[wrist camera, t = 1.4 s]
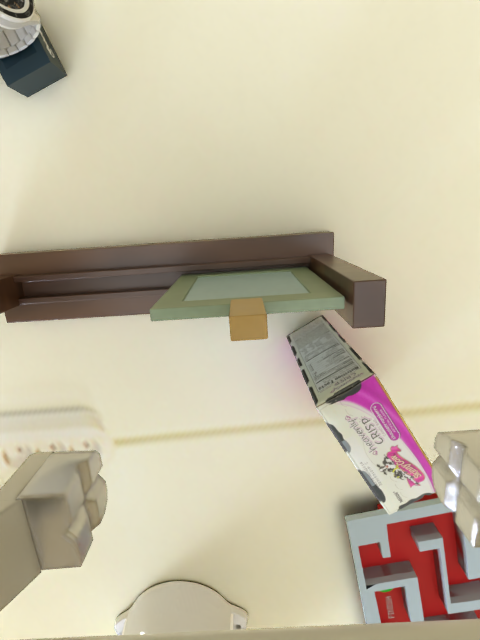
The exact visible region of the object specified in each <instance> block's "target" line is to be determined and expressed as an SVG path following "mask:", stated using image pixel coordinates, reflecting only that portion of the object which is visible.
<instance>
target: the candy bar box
mask: <svg viewBox="0 0 480 640" xmlns="http://www.w3.org/2000/svg"><path fill="white" fill-rule="evenodd" d="M287 339H288V341H289V344H290V346H291V349H292V351H293V353H294V356H295V358H296V361H297V363H298V365H299V367H300V370H301V372H302V375H303V377H304V380H305V382H306V384H307V386H308V388H309V391H310V393H311V395H312V398H313V400H314V402H315V405H316V408H317V410H318V412H319V413H320V415H321V416H322V418H323V419H324V420H325V422H326V424H327V425H328V427H329V428H330V430H331V431H332V433H333V434H334V436H335V437H336V439H337V440H338V442H339V443H340V445H341V446H342V448H343V449H344V451H345V452H346V454H347V455H348V457H349V458H350V460H351V461H352V462H353V464H354V465H355V467H356V468H357V470H358V471H359V473H360V474H361V476H362V477H363V479H364V480H365V481H366V483H367V485H368V486H369V488H370V489H371V490H372V492H373V493H374V495H375V496H376V498H377V499H378V501H379V502H380V503H381V505H382V506H383V508H384V509H385V510H386V512H387V513H388V514H389V515H391V514H393V513H395V512H397V511H398V510H400V509H402V508H404V507H406V506H407V505H409V504H412V503H414V502H416V501H418V500H419V499H421V498H423V496H424V495H431V494H433V493H435V492H436V491H435V489H434V485H433V480H432V464H431V463H430V461H429V460H428V458H427V456H426V455H425V453H424V452H423V450H422V449H421V447H420V445H419V444H418V442H417V441H416V439H415V437H414V436H413V434H412V432H411V431H410V429H409V428H408V426H407V424H406V423H405V421H404V420H403V418H402V416H401V415H400V413H399V411H398V410H397V408H396V406H395V405H394V403H393V402H392V400H391V398H390V397H389V395H388V393H387V392H386V390H385V389H384V387H383V385H382V384H381V382H380V380H379V379H378V377H377V376H376V374H375V373H374V372H373V371H372V370H371V369H370V368H369V367H368V366H367V365H366V364H365V362H364V361H363V360H362V359H361V358H360V356H359V355H358V354H357V353H356V352H355V351H354V350H353V349H352V348H351V347H350V345H349V344H348V343H347V342H346V341H345V340H344V339H343V338H342V337H341V336H340V335H339V333H338V332H337V331H336V330H335V329H334V328H333V327H332V325H331V324H330V323H329V322H328V321H327V320H326V319H325V317H324V316H323V315H321V316H320V317H318V318H316V319H314V320H313V321H311V322H310V323H309V324H307V325H305V326H304V327H302V328H300V329H298V330H297V331H295V332H293V333H292V334H290V335H288V336H287Z"/></svg>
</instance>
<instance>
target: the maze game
mask: <svg viewBox="0 0 480 640" xmlns="http://www.w3.org/2000/svg"><path fill="white" fill-rule="evenodd" d="M377 508H378V510H374V511H368V512H363V513H358V514H353V515H348V516H345V520H346V525H347V530H348V535H349V540H350V545H351V550H352V555H353V560H354V565H355V571H356V576H357V581H358V586H359V591H360V596H361V601H362V606H363V611H364V616H365V621H366V624H373V623H395V622H417V621H439V620H461V619H480V548H473V547H472V545H471V544H470V542H469V541H468V540H467V538H466V537H465V535H464V534H463V532H462V531H461V530H460V528H459V527H458V525H457V524H456V522H455V518H456V513H455V512H453V511H452V510H450V509H448V508H447V507H445V506H444V505H443V504H442V502H441V501H440V499H439V498H438V496H437V493H433V494H431V495H424V496H423V498H421V499H419V500H418V501H416V502H414V503H412V504H409V505H407V506H406V507H404V508H402V509H400V510H398V511H397V512H395V513H393V514H391V515H389V514H388V513H387V512H386V510H385V509H384V508H383V506H382V505H381V504H377Z"/></svg>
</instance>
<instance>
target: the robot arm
mask: <svg viewBox="0 0 480 640" xmlns="http://www.w3.org/2000/svg"><path fill="white" fill-rule="evenodd" d="M434 448H435V450H436V451H437V452H438V454H439V457H438V458H437V459H436V460H435V461H434V462H433V463H432V480H433V485H434V489H435V491H436V493H437V496H438V498H439V499H440V501H441V502H442V504H443V505H444V506H445V507H447V508H448V509H450V510H452V511H453V512H455V513H456V518H455V522H456V524H457V525H458V527H459V528H460V530H461V531H462V532H463V534H464V535H465V537H466V538H467V540H468V541H469V542H470V544H471V545H472V547H473V548H480V430H466V431H451V432H438V433H437V435H436V437H435V443H434ZM101 467H102V461H101V457H100V453H98V452H97V451H96V450H91V451H60V452H39V453H34V454H31V455H30V456H29V457H28V458H27V459H26V460H25V461H24V463H23V464H22V465H21V466H20V467H19V468H18V470H17V471H16V472H15V473H14V474H13V475H12V476H11V478H10V479H9V480H8V481H7V482H6V483H5V484H4V486H3V487H2V488H1V489H0V611H1V610H2V609H3V608H4V607H5V606H6V605H7V604H8V603H10V602H11V601H12V600H13V599H14V598H15V597H16V596H17V595H18V594H19V593H20V592H21V591H22V590H23V589H24V588H25V587H26V586H27V585H28V584H29V583H30V582H31V581H33V580H34V579H35V578H36V577H37V576H38V575H39V574H40V573H41V570H46V569H58V568H71V567H81V565H82V563H83V561H84V559H85V557H86V554H87V552H88V550H89V548H90V546H91V543H92V541H93V537H92V532H91V531H92V530H93V529H94V528H95V527H97V526H98V525H99V524H100V523H101V521H102V519H103V516H104V514H105V510H106V504H107V486H106V481H105V480H104V479H103V478H102V477H101V476H100V475H99V474H98V473H99V471H100V469H101ZM247 620H248V614H247V612H246V611H245V610H243V609H241V608H239V607H237V606H234V605H232V604H230V603H228V602H227V601H226V600H225V599H224V598H223V597H222V596H221V595H220V594H218V593H217V592H216V591H214V590H212V589H210V588H209V587H206V586H204V585H201V584H198V583H193V582H187V581H172V582H166V583H162V584H158V585H156V586H153V587H151V588H149V589H148V590H146V591H145V592H143V593H142V594H141V595H140V596H139V597H138V598H137V599H136V601H135V602H134V604H133V606H132V607H131V608H130V609H129V610H127V611H125V612H124V613H122V614H121V615H119V616H118V617H117V618H116V621H115V627H114V628H115V631H116V633H117V635H110V636H89V637H68V638H45V639H22V640H480V619H461V620H439V621H417V622H395V623H373V624H350V625H328V626H306V627H284V628H261V629H246V627H247Z"/></svg>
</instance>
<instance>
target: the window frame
mask: <svg viewBox="0 0 480 640" xmlns="http://www.w3.org/2000/svg"><path fill="white" fill-rule="evenodd" d="M302 266H306V267H307V268H309V269H310V270H311V271H312V272H314V273H315V274H316V275H317V276H319V277H320V278H321V279H322V280H324V281H325V282H326V283H327V284H329V285H330V286H331V287H332V288H334V289H335V290H336V291H338V292H339V293H340V294H341V295H343V296H344V297H345V301H344V309H334V310H335V311H336V312H337V313H338V314H339V315H340V316H341V317H342V318H343V319H344V320H345V321H346V322H347V323H348V324H349V325H350V326H351V327H352V328H367V327H383V326H384V323H385V301H386V279H384V278H382V277H379V276H377V275H375V274H373V273H371V272H368V271H366V270H364V269H362V268H360V267H357V266H355V265H353V264H351V263H348V262H346V261H344V260H342V259H340V258H337V257H335V256H334V232H329V231H326V232H311V233H296V234H281V235H267V236H252V237H237V238H223V239H208V240H193V241H178V242H164V243H149V244H134V245H120V246H105V247H90V248H76V249H61V250H46V251H31V252H17V253H2V254H0V314H1V313H3V312H5V316H6V320H7V323H14V322H29V321H45V320H60V319H75V318H91V317H106V316H122V315H137V314H150V309H151V308H152V307H153V305H154V304H155V303H156V302H157V301H158V300H159V299H160V298H161V297H162V296H163V295H164V294H165V293H166V292H167V291H168V289H169V288H170V287H171V286H172V285H173V284H174V283H175V282H176V281H177V280H178V279H179V278H180V276H181V275H182V274H197V273H212V272H227V271H242V270H257V269H272V268H287V267H302Z"/></svg>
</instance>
